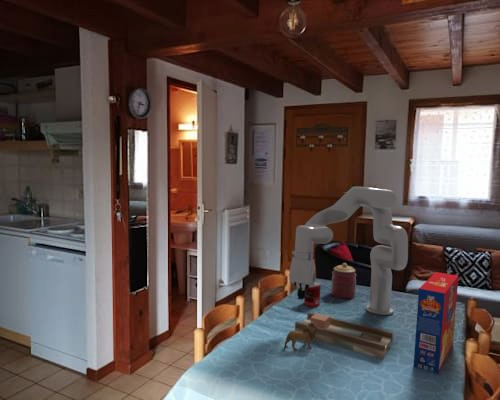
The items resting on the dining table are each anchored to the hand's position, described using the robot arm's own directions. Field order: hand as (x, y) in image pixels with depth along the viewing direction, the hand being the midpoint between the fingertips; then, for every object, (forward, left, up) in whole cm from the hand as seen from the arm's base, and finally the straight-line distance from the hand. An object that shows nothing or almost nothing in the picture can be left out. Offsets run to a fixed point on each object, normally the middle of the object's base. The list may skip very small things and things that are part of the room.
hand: (301, 298), depth 163 cm
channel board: (0, +18, -13) cm, 22 cm away
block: (0, +9, -10) cm, 13 cm away
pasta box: (-8, +51, -13) cm, 53 cm away
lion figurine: (+15, +7, -13) cm, 21 cm away
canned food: (-30, -7, -13) cm, 34 cm away
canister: (-54, +1, -13) cm, 56 cm away
